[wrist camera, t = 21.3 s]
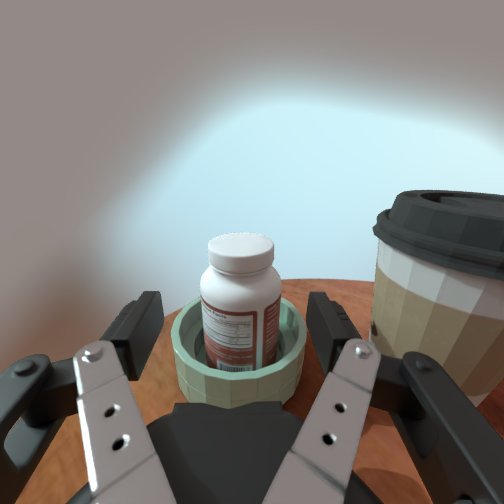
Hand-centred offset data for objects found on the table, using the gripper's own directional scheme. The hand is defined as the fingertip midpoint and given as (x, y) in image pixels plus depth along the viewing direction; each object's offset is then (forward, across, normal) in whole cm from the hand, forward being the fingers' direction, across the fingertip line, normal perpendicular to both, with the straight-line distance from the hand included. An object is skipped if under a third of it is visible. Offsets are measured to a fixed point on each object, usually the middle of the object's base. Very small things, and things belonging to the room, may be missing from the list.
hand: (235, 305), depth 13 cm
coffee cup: (+3, -15, +10) cm, 18 cm away
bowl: (+5, 0, +10) cm, 11 cm away
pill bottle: (+5, 0, +10) cm, 11 cm away
